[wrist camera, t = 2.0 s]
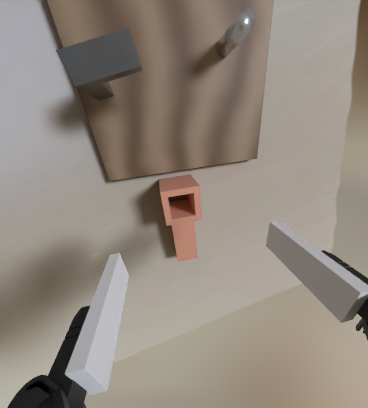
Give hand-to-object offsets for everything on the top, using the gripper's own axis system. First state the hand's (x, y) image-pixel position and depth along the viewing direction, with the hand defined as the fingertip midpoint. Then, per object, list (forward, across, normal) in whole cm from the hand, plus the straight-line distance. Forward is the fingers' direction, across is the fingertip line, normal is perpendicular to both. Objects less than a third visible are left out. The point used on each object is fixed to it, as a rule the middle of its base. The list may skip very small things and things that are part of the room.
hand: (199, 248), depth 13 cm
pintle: (+15, +8, +18) cm, 24 cm away
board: (+15, +2, +15) cm, 21 cm away
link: (+15, 0, -6) cm, 16 cm away
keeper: (+15, -5, +15) cm, 22 cm away
